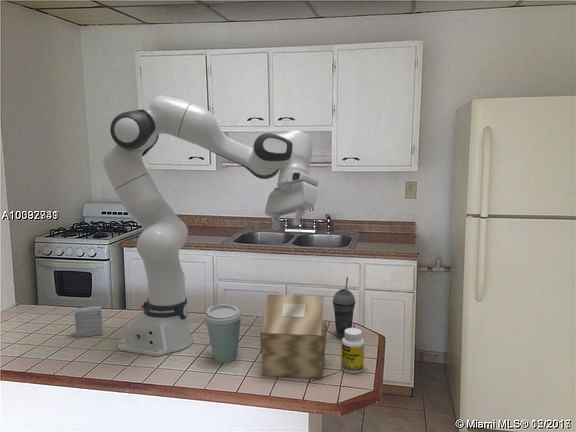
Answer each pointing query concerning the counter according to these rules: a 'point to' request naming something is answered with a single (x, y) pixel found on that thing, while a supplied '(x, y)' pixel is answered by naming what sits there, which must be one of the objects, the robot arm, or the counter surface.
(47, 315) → the counter surface
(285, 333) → the lid flap
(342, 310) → the beverage cup
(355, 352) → the pill bottle
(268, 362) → the cardboard carton
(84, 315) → the grey upright block
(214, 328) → the disposable coffee cup
